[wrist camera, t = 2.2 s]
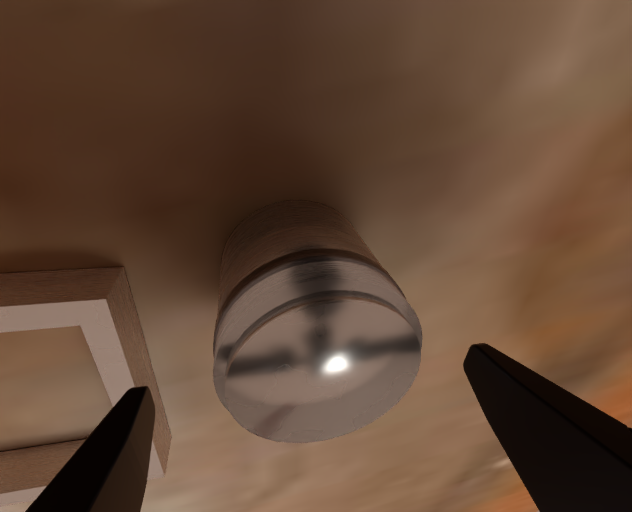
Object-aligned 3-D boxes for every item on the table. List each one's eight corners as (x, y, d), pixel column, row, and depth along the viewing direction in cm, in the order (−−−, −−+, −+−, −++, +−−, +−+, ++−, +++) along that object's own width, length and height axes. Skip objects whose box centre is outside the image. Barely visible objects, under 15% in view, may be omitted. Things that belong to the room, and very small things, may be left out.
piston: (371, 197, 13) (458, 281, 8) (353, 315, 16) (408, 431, 11) (212, 199, 12) (195, 301, 7) (225, 328, 15) (220, 465, 10)
